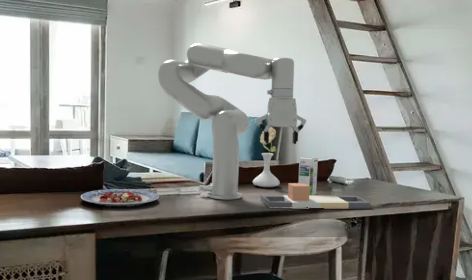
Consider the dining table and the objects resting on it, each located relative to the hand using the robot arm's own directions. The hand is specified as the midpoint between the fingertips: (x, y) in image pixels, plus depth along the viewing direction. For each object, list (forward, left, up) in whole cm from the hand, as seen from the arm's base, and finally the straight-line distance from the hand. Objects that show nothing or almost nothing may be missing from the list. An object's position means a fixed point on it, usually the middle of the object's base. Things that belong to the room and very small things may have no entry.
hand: (280, 143), depth 184 cm
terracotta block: (+7, -2, -19) cm, 20 cm away
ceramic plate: (-54, +3, -22) cm, 59 cm away
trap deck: (+13, -2, -21) cm, 25 cm away
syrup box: (+16, +17, -21) cm, 31 cm away
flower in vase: (+4, +34, -21) cm, 40 cm away
